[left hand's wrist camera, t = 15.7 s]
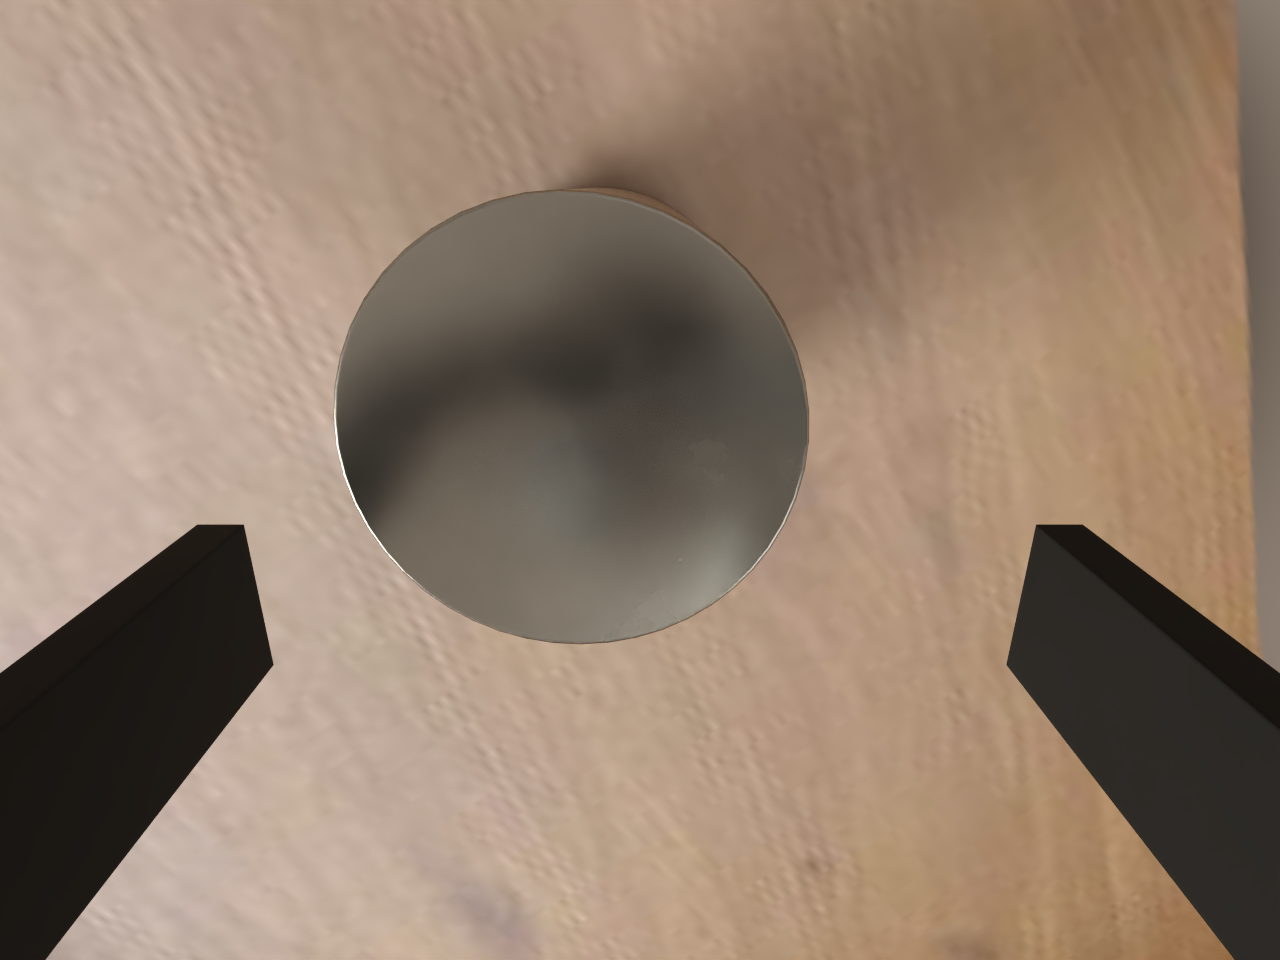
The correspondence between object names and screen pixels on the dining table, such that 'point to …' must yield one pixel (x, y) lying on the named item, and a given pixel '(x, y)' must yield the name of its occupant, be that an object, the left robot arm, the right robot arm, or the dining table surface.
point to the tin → (571, 415)
